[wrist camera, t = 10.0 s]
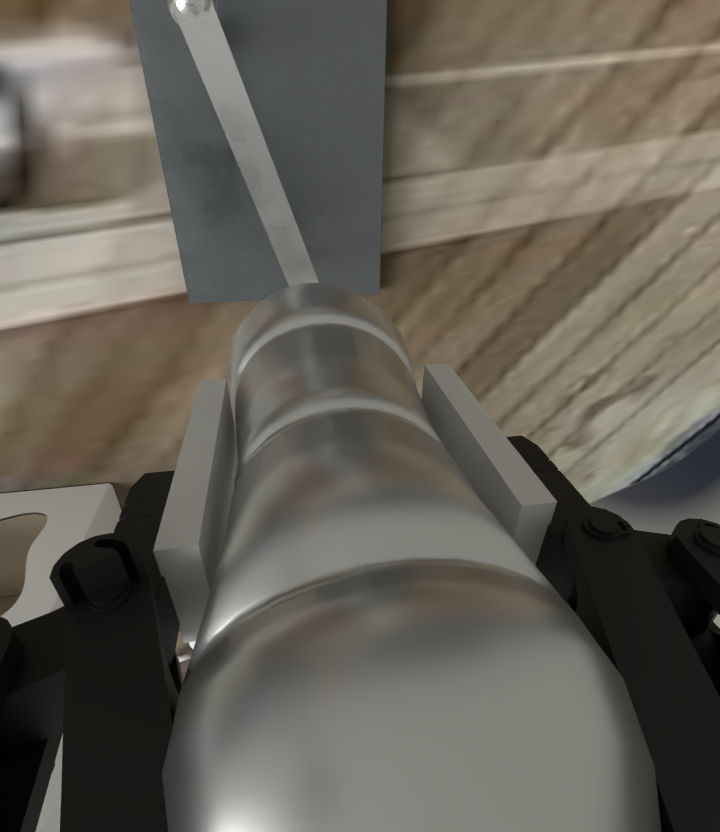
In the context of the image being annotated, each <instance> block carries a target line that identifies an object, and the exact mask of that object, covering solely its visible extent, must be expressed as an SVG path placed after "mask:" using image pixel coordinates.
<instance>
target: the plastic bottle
mask: <svg viewBox="0 0 720 832" xmlns="http://www.w3.org/2000/svg"><path fill="white" fill-rule="evenodd" d="M227 383H228V390H229V396H230V402H231V406H232V410H233V414H234V417H235V420H236V442H237V464H238V465H237V470H236V476H235V481H234V492H233V496H232V499H231V504H230V510H229V516H228V522H227V528H226V534H225V539H224V545H223V551H222V555H221V558H220V561H219V565H218V568H217V571H216V575H215V578H214V582H213V585H212V588H211V592H210V595H209V598H208V602H207V605H206V608H205V612H204V615H203V619H202V622H201V625H200V629H199V632H198V635H197V639H196V642H195V645H194V649H193V652H192V656H191V659H190V662H189V666H188V669H187V672H186V676H185V679H184V682H183V685H182V688H181V691H180V694H179V697H178V701H177V704H176V707H175V711H174V718H173V727H172V732H171V737H170V741H169V745H168V749H167V753H166V758H165V762H164V766H163V770H162V779H163V788H164V797H165V806H166V815H167V824H168V832H662V827H661V819H660V810H659V802H658V793H657V785H656V776H655V768H654V764H653V761H652V758H651V755H650V752H649V749H648V747H647V744H646V741H645V738H644V735H643V732H642V730H641V727H640V724H639V721H638V718H637V715H636V713H635V710H634V707H633V704H632V701H631V698H630V696H629V693H628V690H627V687H626V684H625V681H624V679H623V677H622V676H621V674H620V673H619V672H618V670H617V669H616V668H615V666H614V665H613V664H612V662H611V661H610V660H609V658H608V657H607V656H606V654H605V653H604V652H603V650H602V649H601V647H600V646H599V645H598V643H597V642H596V640H595V639H594V638H593V636H592V635H591V633H590V632H589V631H588V629H587V628H586V626H585V625H584V624H583V622H582V621H581V620H580V618H579V617H578V616H577V615H576V613H575V612H574V611H573V610H572V608H571V607H570V606H569V605H568V603H567V602H566V601H564V600H563V599H562V597H561V596H560V595H559V594H558V592H557V591H556V590H555V589H554V587H553V586H552V585H551V584H550V583H549V581H548V580H547V579H546V578H545V577H544V575H543V574H542V573H541V572H540V571H539V569H538V568H537V567H536V566H535V565H534V563H533V562H532V561H531V560H530V559H529V557H528V556H527V555H526V554H525V553H524V551H523V550H522V549H521V548H520V547H519V545H518V544H517V543H516V542H515V541H514V539H513V538H512V537H511V536H510V535H509V534H508V532H507V531H506V530H505V529H504V528H503V526H502V525H501V524H500V523H499V522H498V520H497V519H496V518H495V517H494V516H493V514H492V513H491V512H490V511H489V510H488V508H487V507H486V506H485V505H484V504H483V502H482V501H481V500H480V499H479V497H478V496H477V494H476V493H475V491H474V490H473V488H472V487H471V485H470V484H469V482H468V481H467V479H466V478H465V476H464V475H463V473H462V472H461V470H460V469H459V467H458V466H457V464H456V463H455V461H454V460H453V458H452V457H451V456H450V454H449V453H448V452H447V451H446V449H445V446H444V445H443V443H442V442H441V440H440V439H439V437H438V436H437V434H436V433H435V431H434V430H433V428H432V426H431V423H430V421H429V418H428V416H427V413H426V411H425V408H424V406H423V403H422V401H421V398H420V396H419V393H418V391H417V388H416V382H415V376H414V371H413V366H412V362H411V359H410V356H409V353H408V350H407V347H406V344H405V342H404V340H403V338H402V335H401V333H400V331H399V330H398V329H397V327H396V326H395V324H394V323H393V322H392V320H391V319H390V318H389V317H388V316H387V315H386V314H385V313H384V312H383V311H382V310H380V309H379V308H378V307H377V306H376V305H374V304H373V303H371V302H370V301H368V300H366V299H365V298H363V297H361V296H360V295H358V294H356V293H355V292H353V291H351V290H348V289H345V288H342V287H340V286H337V285H331V284H325V283H301V284H297V285H293V286H289V287H286V288H283V289H281V290H279V291H277V292H275V293H273V294H271V295H269V296H268V297H266V298H265V299H264V300H262V301H261V302H260V303H259V304H257V305H256V306H255V308H254V309H253V310H252V311H251V312H250V314H249V315H248V316H247V317H246V318H245V320H244V321H243V323H242V324H241V325H240V327H239V328H238V330H237V332H236V334H235V336H234V338H233V340H232V342H231V345H230V349H229V353H228V357H227Z"/></svg>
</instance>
